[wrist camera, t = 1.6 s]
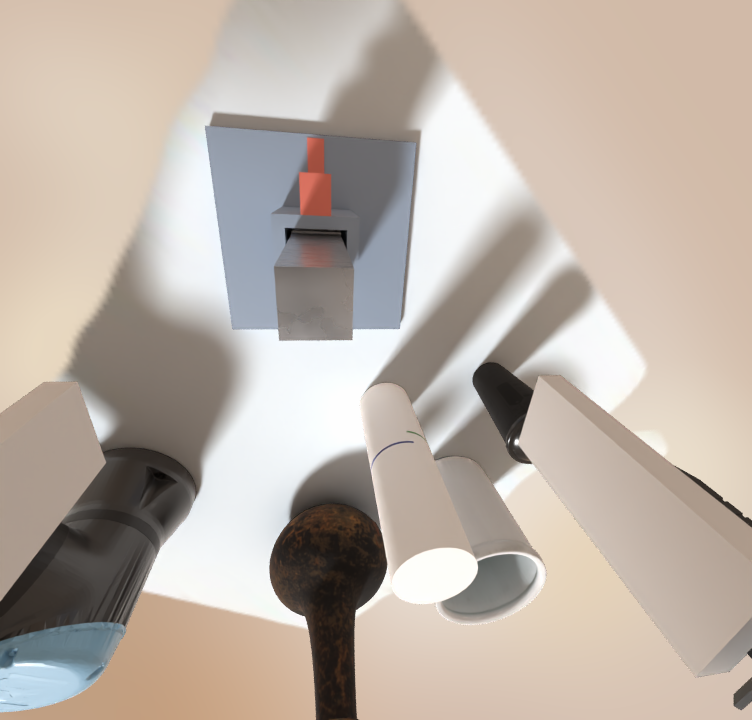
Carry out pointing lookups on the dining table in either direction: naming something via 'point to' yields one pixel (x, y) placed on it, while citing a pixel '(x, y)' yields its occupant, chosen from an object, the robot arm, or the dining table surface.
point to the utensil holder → (489, 549)
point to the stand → (311, 214)
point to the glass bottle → (330, 592)
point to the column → (314, 287)
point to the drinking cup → (505, 404)
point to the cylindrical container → (413, 503)
